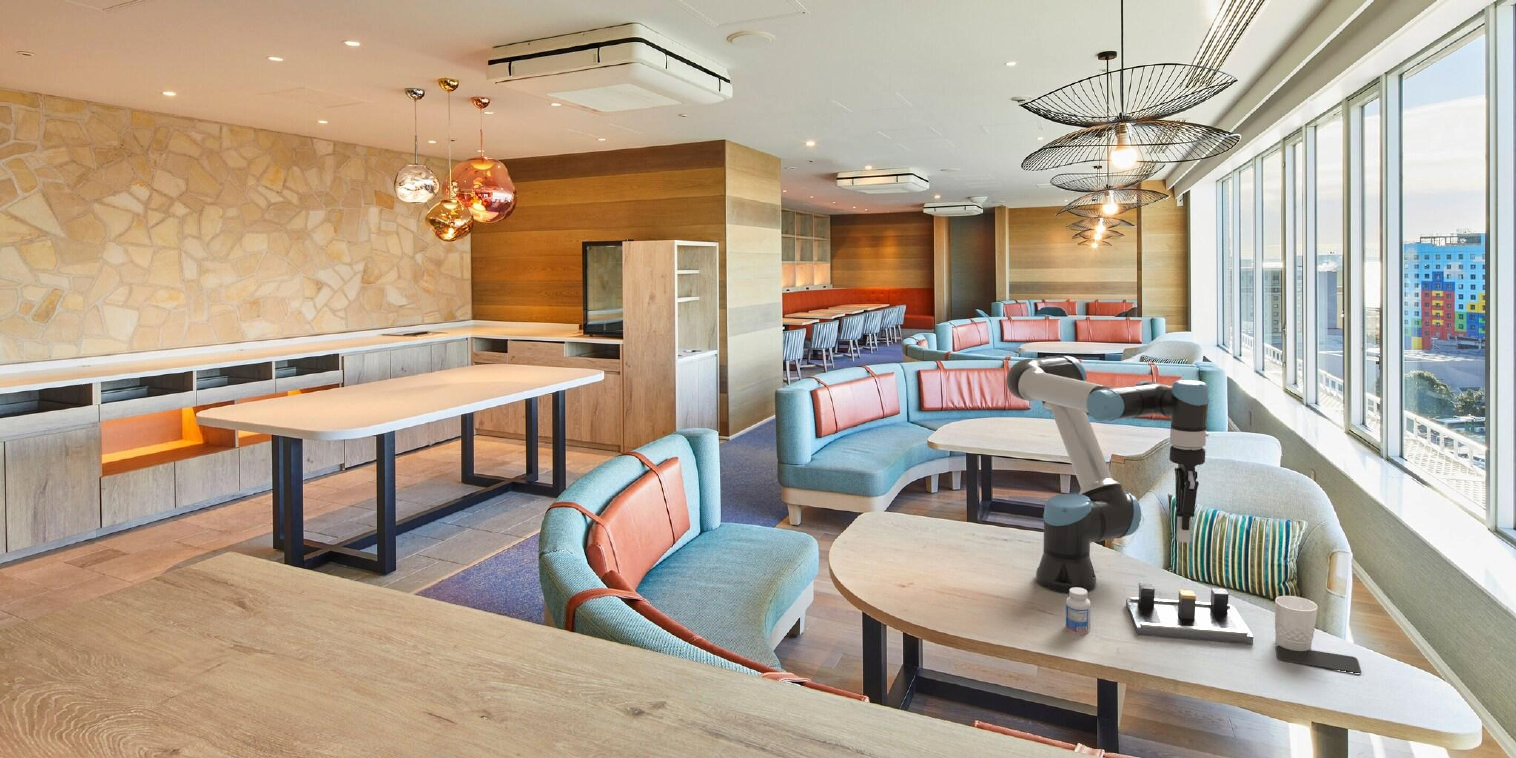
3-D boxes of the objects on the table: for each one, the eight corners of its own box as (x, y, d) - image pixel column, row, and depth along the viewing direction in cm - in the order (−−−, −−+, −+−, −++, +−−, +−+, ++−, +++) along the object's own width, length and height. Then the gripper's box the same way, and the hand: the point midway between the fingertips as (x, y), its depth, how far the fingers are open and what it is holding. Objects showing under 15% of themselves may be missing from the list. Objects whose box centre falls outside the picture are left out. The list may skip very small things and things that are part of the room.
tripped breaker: (1180, 618, 194) (1181, 595, 193) (1177, 612, 197) (1179, 589, 196) (1194, 619, 193) (1195, 595, 192) (1191, 613, 196) (1192, 590, 195)
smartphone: (1275, 643, 184) (1357, 656, 177) (1274, 647, 184) (1357, 660, 177) (1276, 659, 178) (1362, 672, 170) (1276, 663, 178) (1362, 677, 170)
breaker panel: (1136, 635, 191) (1137, 607, 190) (1125, 605, 206) (1126, 579, 205) (1252, 644, 185) (1254, 615, 183) (1232, 613, 200) (1234, 586, 199)
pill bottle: (1071, 621, 199) (1072, 583, 197) (1093, 628, 195) (1095, 589, 194) (1061, 629, 195) (1062, 591, 194) (1083, 636, 191) (1084, 597, 190)
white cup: (1320, 655, 179) (1324, 612, 178) (1280, 652, 181) (1284, 609, 179) (1304, 638, 187) (1308, 596, 185) (1266, 635, 188) (1269, 594, 187)
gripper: (1212, 453, 187) (1207, 551, 191) (1198, 439, 200) (1193, 532, 204) (1176, 452, 189) (1172, 550, 193) (1164, 438, 202) (1160, 530, 206)
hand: (1183, 540), depth 199 cm, fingers closed
